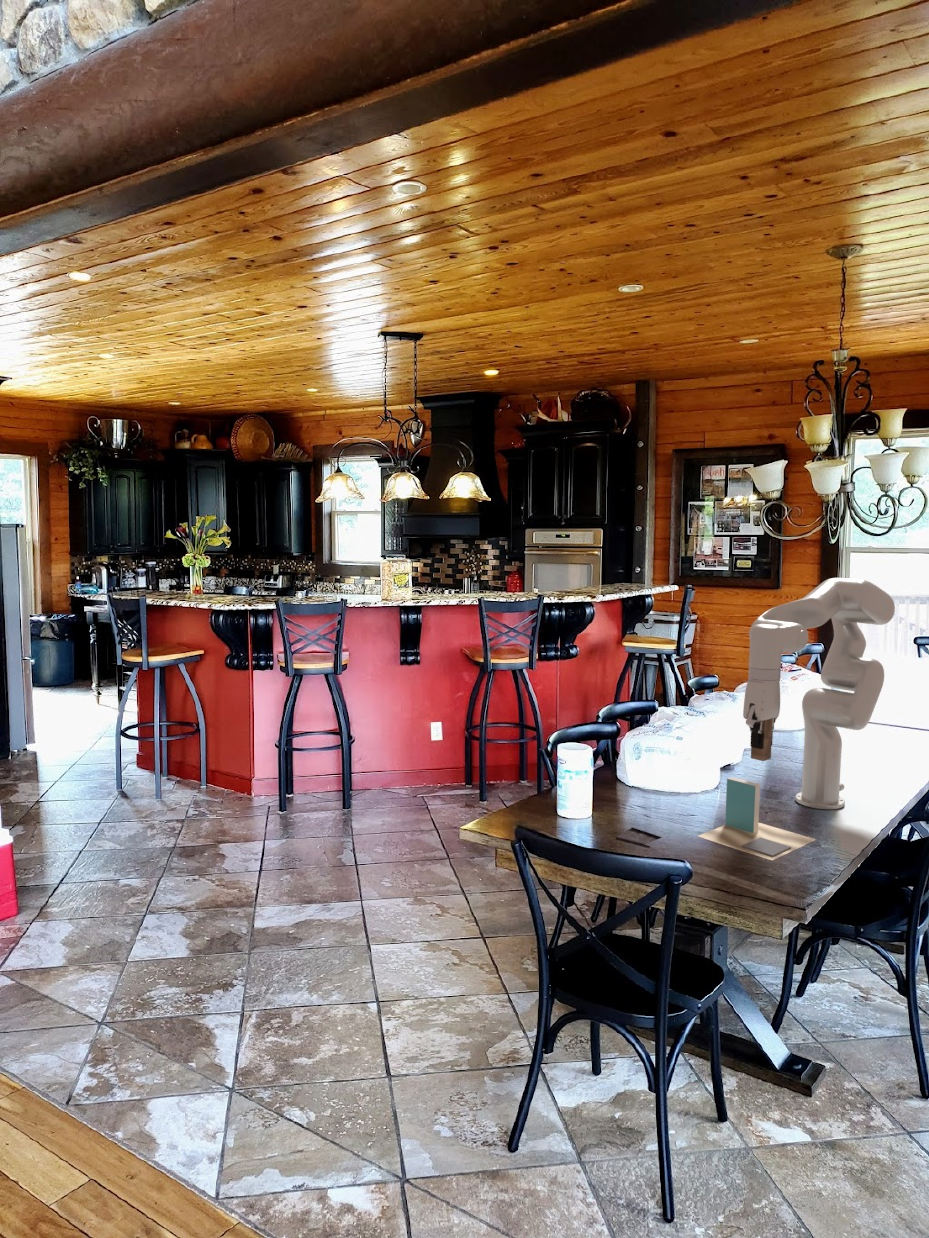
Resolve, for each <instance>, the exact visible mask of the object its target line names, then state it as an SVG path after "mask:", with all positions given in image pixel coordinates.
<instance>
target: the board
mask: <svg viewBox="0 0 929 1238" xmlns="http://www.w3.org/2000/svg"><path fill="white" fill-rule="evenodd" d="M760 837H761V838H764V839H767V840H771V841H774V842H777V843H780V844H784V845H787V846H790V847H791V849H789V850H787V851H785V852H782V853H780V854H778V855H776V856H774V857H771V856H768V855H765V854H762V853H759V852H756V851H752V850H749V849H746V848H743V847H742V845H744V844H746V843H749V842H751V841H753V840H755V839H758V838H760ZM697 838H701V839H705V840H706V841H711V842H713V843H716V844H719V845H722V846H726V847H729V848H731V849H735V850H737V851H741V852H743V853H747V854H750V855H753V856H757V857H759V858H762V859H765V860H768V861H775V860H777V859H779V858H781V857H783V856H785V855H787V854H789V853H791V852H792V853H793V852H794V851H795V850H797V849H801V848H802V847H804V846H806V845H809V844H811V843H812V842H814V841H817V839H816V838H813V837H810V836H806V835H802V834H799V833H796V832H792V831H789V830H786V829H783V828H779V827H775V826H772V825H768V824H765V823H762V822H759V824H758V832H756V833H754V834H753V833H750V832H747V831H743V830H740V829H737V828H734V827H730V826H727V825H725V824H724V825H721V826H719V827H717V828H714V829H712V830H709V831H707V832H704V833H702V834H699V835H697Z"/></svg>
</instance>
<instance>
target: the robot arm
mask: <svg viewBox="0 0 929 1238" xmlns="http://www.w3.org/2000/svg"><path fill="white" fill-rule="evenodd" d="M895 612H896V606H895V603H894V600H893V597H892V596H891V595H890V594H889V593H887V592H886V591H885V590H883V589H882V588H880V587H879V586H877V585H876V584H874V583H872V582H871V581H869V580H866V579H861V578H860V579H859V578H845V577H832V578H827V579H826V580H824V581H823V582H822V581H821V583H820V584H819V585H817V586H816V587H815V588H814V589H813V590H811V591H810V592H809V593H808V594H807V593H806V595H805V596H803V597H802V598H800V599H796V600H793V601H789V602H787V603H784V604H783V603H782V604H780V605H776V606H773V607H771V608H769V609H768V610H766V611H764V613H762V614H760V615H759V616H758V617H757V618H756V619H755V620H754V622H753V623H751V626H750V629H749V633H748V637H749V655H748V656H749V657H748V676H747V677H748V678H747V679H748V680H747V683H746V687H745V691H744V698H743V699H744V701H743V710H742V711H743V713H742V714H743V715H742V717H743V719H744V720H745V724H746V726H747V727H749V732H750V748H751V747H753V748H757V749H763V740H764V733H762V730H763V721H765V720H768V719H771V718H773V723H772V739H773V737H774V736H773V735H774V729H775V723H776V720H777V719H778V718H779V715H780V712H781V711H780V710H781V687H780V686H781V683H780V682H781V672H782V671H781V669H782V668H781V667H782V653H797V652H800V651H802V650H803V649H804V648H805V647H806V646H807V644H808V642H809V631H808V629H814V628H818V627H821V626H823V625H825V624H826V623H827V622H828V621H829V620H830V619H831V622H832V626H833V627H832V629H833V640H832V642H831V645H830V648H829V650H828V652H827V655H826V658H825V660H824V663H823V666H822V668H821V672H820V680H821V683H823V684H824V685H825V686H827V687H828V688H826V687H825V688H824V687H816V688H811V689H810V690H808V691H806V692H805V694H804V695H803V699H802V701H801V710H802V716H803V723H804V740H803V741H804V742H803V760H802V761H803V762H802V776H801V777H802V780H801V791H800V792H798V793H796V794H795V801H796V802H797V803H798V804H800V805H803V806H804V807H808V808H813V809H817V810H838V809H841V808H843V807H844V806H845V803H846V802H845V799H844V798H842V797H841V796H840V792H841V791H844V790H845V785H844V784H843V783H841V768H842V767H841V766H842V749H843V747H842V745H843V742H842V737H841V735H840V732H839V729H838V728H843V729H848V730H853V731H860V730H863V729H864V728H866V727H867V726H868V724H869V723H870V721H871V718H872V715H873V712H874V710H875V707H876V705H877V702H878V699H879V698H880V697H879V696H880V694H881V692H882V689H883V686H884V682H885V670H884V666H883V664H882V663H881V662H880V661H879V660H877V659H875V658H871V657H866V656H865V657H864V653H865V650H866V647H867V641H866V637H865V636H864V633H863V632H862V630H861V628H860V627H859V625H858V624H868V625H874V626H875V625H877V626H881V625H882V626H883V625H886V624H889V622H891V621H892V619H893V618H894V615H895ZM829 687H830V688H829ZM831 688H832V689H831ZM848 691H849V692H848ZM755 717H756V718H757V720H756V719H755ZM755 722H756V723H759V726H758V725H757V724H756V723H755ZM772 746H773V743H772V744H771V747H772Z"/></svg>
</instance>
